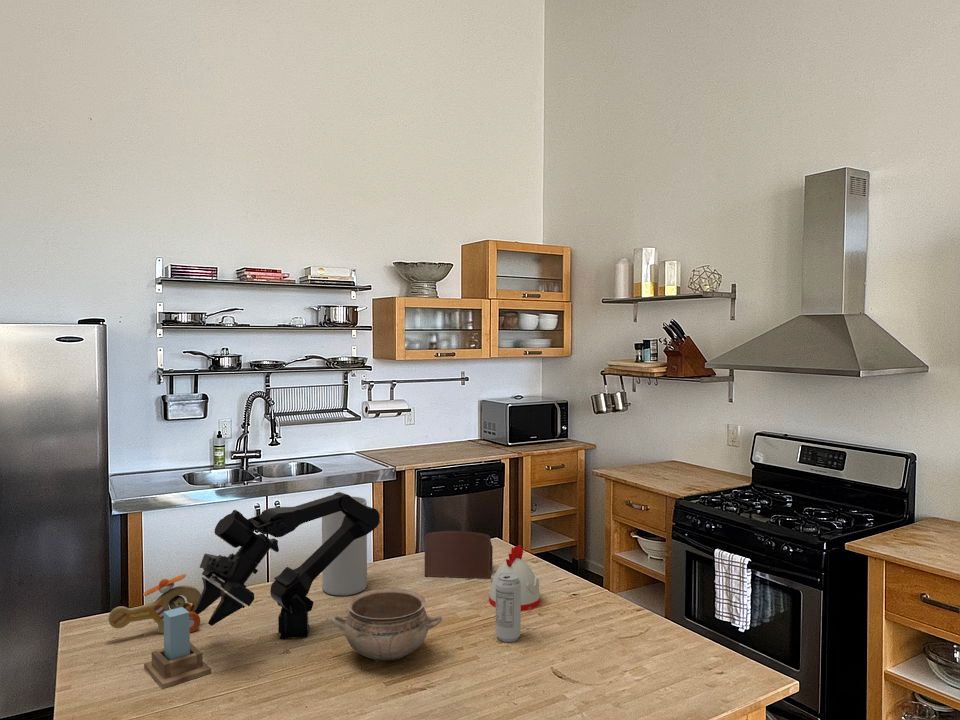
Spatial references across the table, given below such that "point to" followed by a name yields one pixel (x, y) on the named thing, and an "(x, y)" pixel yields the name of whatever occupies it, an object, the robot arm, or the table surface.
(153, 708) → the table surface
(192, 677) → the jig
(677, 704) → the table surface
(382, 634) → the cooking pot
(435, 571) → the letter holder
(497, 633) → the energy drink can
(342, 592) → the cylinder vase
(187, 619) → the pale blue tower
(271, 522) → the robot arm
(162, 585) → the toy helicopter
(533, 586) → the kitchen timer
